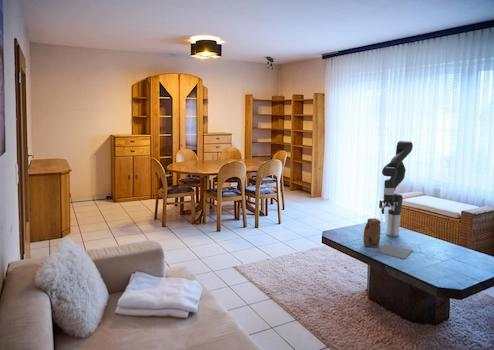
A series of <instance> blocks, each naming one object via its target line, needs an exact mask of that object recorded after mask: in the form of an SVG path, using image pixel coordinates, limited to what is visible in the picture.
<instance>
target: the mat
mask: <svg viewBox="0 0 494 350" xmlns="http://www.w3.org/2000/svg"><path fill="white" fill-rule="evenodd" d="M413 251H414V249H410V248H404V247H400V246H397V245H396V246H395V245H391V244H387V243H384V244H383V245H381V246H380V247H378V249H376V250H374V252H375V253H377V254H379V255H380V254H381V255H385V256H390V257H393V258H397V259H401V260H402V259H403V260H405V259H407V258H408V257H409V256H410V254H411V253H413Z"/></svg>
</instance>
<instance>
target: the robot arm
mask: <svg viewBox="0 0 494 350" xmlns="http://www.w3.org/2000/svg"><path fill="white" fill-rule="evenodd" d="M413 145H414V143H413V142H412V141H408V140H398V142H397V144H396V149H395V156H393V157H392V159H391V160H390V162H389V163H387V164H386V165H385V166H383V168H382V170H381V173H382V175H383V176H384V177H390V178H389V179H385V180H384V182H383V184H384V185H383V199H380V200H379V205H378V207H379V209H381V214H382V215H385V208H386V207H387V208H389V209H388V212H387V213H388V214H387V222H386V232H385V233H386V235H387V236H389V237H399V234H400V225H401V214H402V205H403V195H402V194H401V193H395V191H396V188H397V187H398V186H400V184H401V183H402V182H403V181H404V179H405V175H406V171H407V170H406V166H405V164H404V162H403V161H404V159H406V158H407V157H408V156H409V154H410V153H412V151H413V147H414V146H413Z"/></svg>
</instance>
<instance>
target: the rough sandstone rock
mask: <svg viewBox="0 0 494 350" xmlns="http://www.w3.org/2000/svg"><path fill="white" fill-rule="evenodd" d="M381 222H382V221H381V220H379V219H378V218H368V219H367V222H366V224H365V226H364V229H363V246H364V247H366V248H370V247H371V248H377V247H379V245H380V242H381V241H380V240H381Z"/></svg>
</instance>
